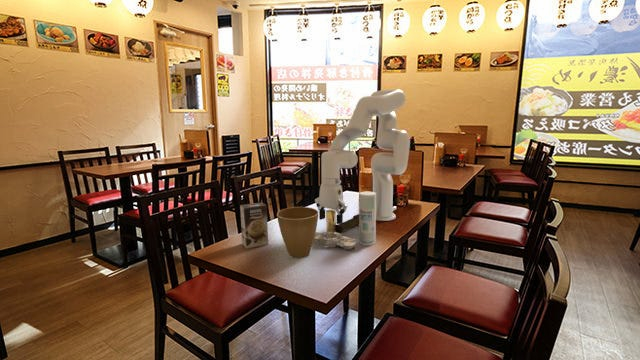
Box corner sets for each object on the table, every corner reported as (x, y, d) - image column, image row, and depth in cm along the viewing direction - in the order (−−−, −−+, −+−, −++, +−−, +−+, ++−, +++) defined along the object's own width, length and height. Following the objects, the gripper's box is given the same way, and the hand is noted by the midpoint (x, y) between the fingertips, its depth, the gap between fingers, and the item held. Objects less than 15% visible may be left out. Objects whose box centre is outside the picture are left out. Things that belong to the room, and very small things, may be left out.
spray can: (377, 240, 141) (377, 191, 137) (374, 246, 135) (374, 195, 131) (361, 238, 143) (361, 190, 140) (357, 244, 137) (357, 194, 134)
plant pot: (275, 249, 134) (273, 209, 131) (313, 244, 138) (312, 205, 135) (282, 265, 120) (280, 220, 117) (324, 259, 124) (323, 215, 121)
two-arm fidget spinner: (316, 233, 151) (315, 226, 151) (361, 246, 135) (361, 239, 134) (300, 239, 145) (300, 232, 144) (346, 253, 128) (346, 246, 128)
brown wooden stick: (341, 234, 150) (341, 224, 149) (333, 232, 152) (333, 222, 151) (366, 223, 163) (366, 214, 163) (359, 222, 166) (359, 212, 165)
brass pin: (330, 231, 154) (330, 208, 152) (337, 233, 151) (337, 210, 149) (324, 233, 151) (324, 211, 149) (331, 235, 148) (331, 212, 146)
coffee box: (246, 249, 135) (243, 208, 132) (241, 243, 141) (239, 204, 138) (269, 244, 140) (267, 205, 137) (263, 239, 145) (261, 201, 142)
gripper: (352, 182, 144) (352, 223, 147) (321, 178, 155) (321, 215, 158) (340, 185, 138) (340, 227, 141) (309, 180, 150) (310, 219, 153)
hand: (330, 221), depth 150 cm, fingers open, 9 cm apart
